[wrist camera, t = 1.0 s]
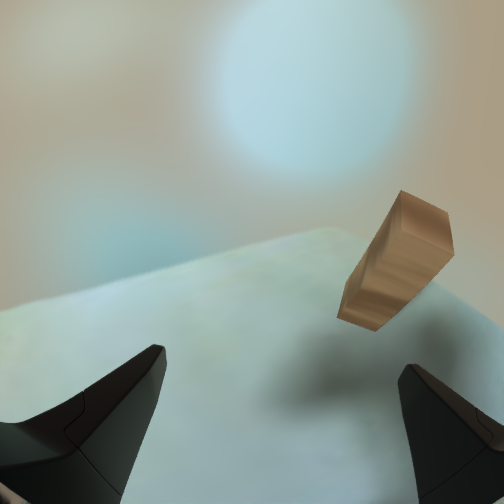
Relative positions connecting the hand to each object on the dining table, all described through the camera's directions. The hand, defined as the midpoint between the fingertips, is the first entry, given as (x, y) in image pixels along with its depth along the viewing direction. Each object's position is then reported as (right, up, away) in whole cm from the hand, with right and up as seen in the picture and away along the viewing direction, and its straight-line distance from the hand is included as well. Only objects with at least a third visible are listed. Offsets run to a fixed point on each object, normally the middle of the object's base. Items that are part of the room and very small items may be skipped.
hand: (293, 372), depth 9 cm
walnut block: (+10, -2, +18) cm, 20 cm away
